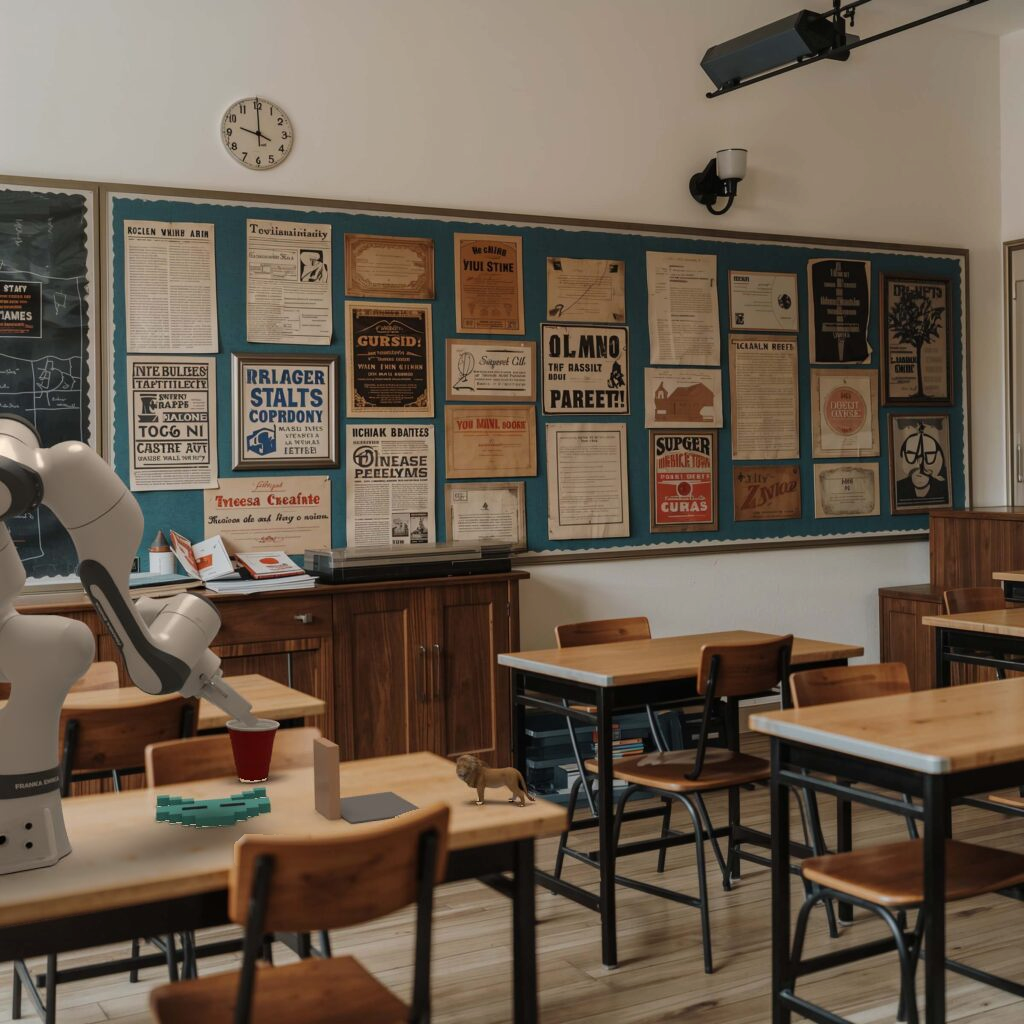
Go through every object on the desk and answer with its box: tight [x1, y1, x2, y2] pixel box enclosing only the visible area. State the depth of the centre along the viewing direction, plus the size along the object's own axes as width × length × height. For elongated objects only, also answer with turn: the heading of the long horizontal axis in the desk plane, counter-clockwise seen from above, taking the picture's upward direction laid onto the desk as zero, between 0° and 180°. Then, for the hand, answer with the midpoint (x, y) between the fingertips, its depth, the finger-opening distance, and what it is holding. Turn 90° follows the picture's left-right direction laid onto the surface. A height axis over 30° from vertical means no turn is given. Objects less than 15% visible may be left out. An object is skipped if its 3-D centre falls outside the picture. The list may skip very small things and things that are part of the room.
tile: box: [312, 737, 342, 821], centre depth 222 cm, size 2×9×13 cm, turn 26°
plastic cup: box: [225, 718, 281, 781], centre depth 250 cm, size 11×11×12 cm
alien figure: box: [155, 786, 271, 828], centre depth 224 cm, size 20×2×20 cm
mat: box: [340, 791, 420, 825], centre depth 225 cm, size 14×18×1 cm
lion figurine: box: [455, 754, 536, 806], centre depth 227 cm, size 15×5×9 cm, turn 83°
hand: (253, 723), depth 215 cm, fingers closed
